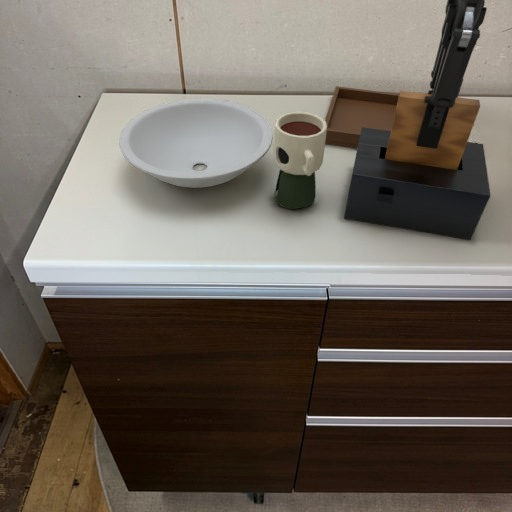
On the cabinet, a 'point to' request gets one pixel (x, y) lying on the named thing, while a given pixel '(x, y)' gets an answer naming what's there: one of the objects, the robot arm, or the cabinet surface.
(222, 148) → the white bowl
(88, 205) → the cabinet surface
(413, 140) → the toast
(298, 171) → the character mug
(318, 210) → the cabinet surface
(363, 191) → the toaster
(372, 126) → the tray
